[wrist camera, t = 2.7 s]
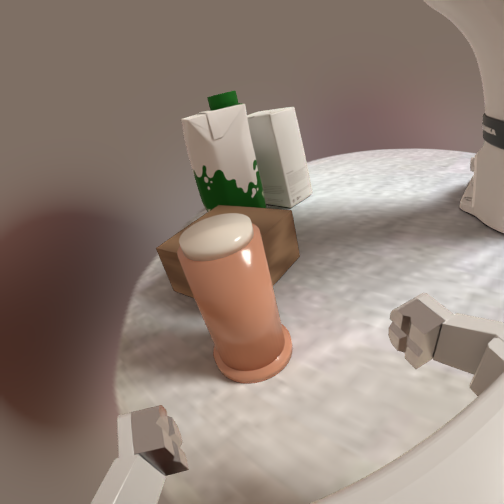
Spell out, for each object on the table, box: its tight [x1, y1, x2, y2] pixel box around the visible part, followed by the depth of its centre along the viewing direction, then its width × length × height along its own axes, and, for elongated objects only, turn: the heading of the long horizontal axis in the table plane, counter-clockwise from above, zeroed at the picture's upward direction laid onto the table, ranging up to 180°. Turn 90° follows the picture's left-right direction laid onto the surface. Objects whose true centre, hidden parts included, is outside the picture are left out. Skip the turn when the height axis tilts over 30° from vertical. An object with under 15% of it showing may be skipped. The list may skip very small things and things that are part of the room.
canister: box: [177, 213, 292, 383], centre depth 23 cm, size 7×7×12 cm
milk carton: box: [181, 91, 266, 212], centre depth 44 cm, size 9×9×20 cm
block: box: [156, 205, 300, 298], centre depth 35 cm, size 11×11×6 cm
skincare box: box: [247, 107, 312, 208], centre depth 50 cm, size 8×7×16 cm
